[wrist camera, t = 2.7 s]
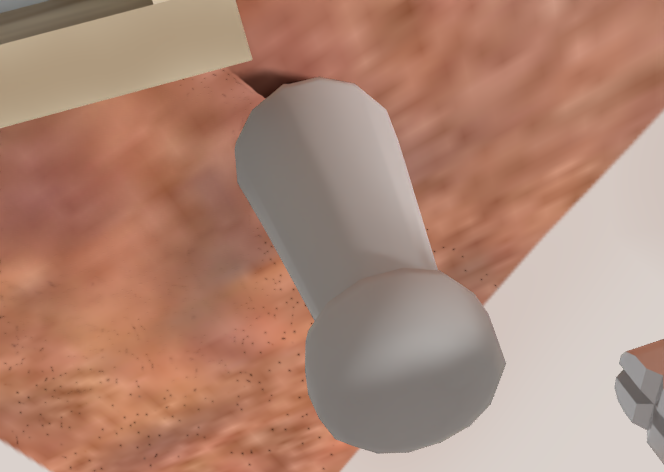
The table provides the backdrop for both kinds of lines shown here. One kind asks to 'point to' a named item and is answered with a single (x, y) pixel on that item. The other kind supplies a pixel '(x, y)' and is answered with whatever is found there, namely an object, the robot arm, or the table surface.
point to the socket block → (108, 49)
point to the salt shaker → (365, 271)
